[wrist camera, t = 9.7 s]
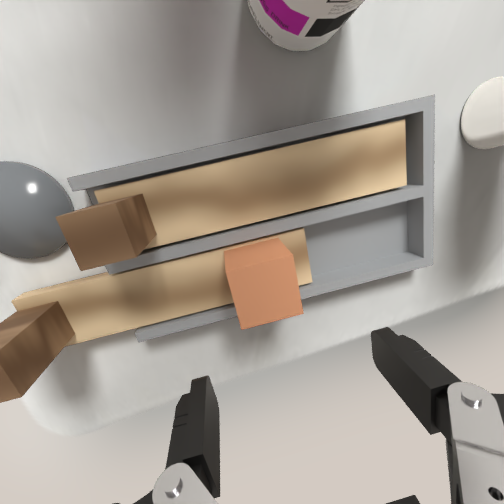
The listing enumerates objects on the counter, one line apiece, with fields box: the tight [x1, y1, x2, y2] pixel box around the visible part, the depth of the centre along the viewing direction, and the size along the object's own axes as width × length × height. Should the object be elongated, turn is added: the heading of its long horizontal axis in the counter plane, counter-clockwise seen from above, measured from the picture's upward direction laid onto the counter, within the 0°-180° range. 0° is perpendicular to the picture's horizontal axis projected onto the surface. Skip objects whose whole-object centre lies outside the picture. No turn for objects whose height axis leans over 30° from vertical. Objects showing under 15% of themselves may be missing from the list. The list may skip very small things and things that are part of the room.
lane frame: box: [67, 95, 435, 342], centre depth 24 cm, size 15×30×2 cm, turn 103°
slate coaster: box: [0, 162, 74, 258], centre depth 22 cm, size 8×8×1 cm
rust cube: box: [224, 238, 304, 330], centre depth 22 cm, size 5×5×5 cm
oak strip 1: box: [55, 119, 407, 271], centre depth 20 cm, size 6×26×8 cm, turn 102°
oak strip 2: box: [0, 227, 312, 403], centre depth 21 cm, size 6×26×9 cm, turn 103°
